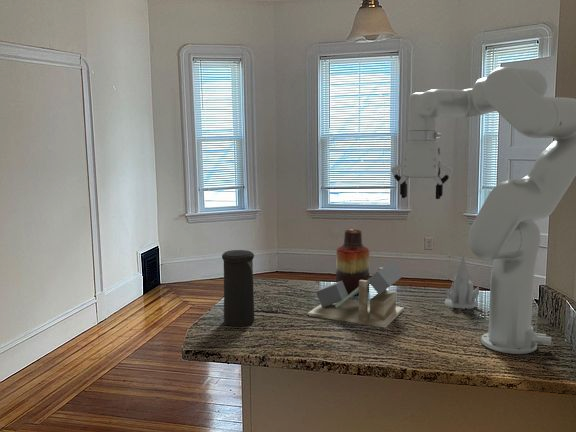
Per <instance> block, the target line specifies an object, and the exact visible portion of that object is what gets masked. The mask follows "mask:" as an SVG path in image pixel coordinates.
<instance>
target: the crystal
mask: <svg viewBox="0 0 576 432" xmlns="http://www.w3.org/2000/svg"><path fill="white" fill-rule="evenodd" d="M479 287H480V286H477V287H476V288H475V289H474V283H473V282H472V281H471V280H470V275H469V271H468V268H467V265H466V259H465V256H462V258H461V261H460V264H459V267H458V270H457V273H456V274H455V276H454V278H453V281H452V282H451V285H450V289H448V288H447V289H446V293H445V295H446V296H447V298H446V299H445V300H444V305H446V306H448V307H450V308H455V309H456V308H457V309H464V310H466V309H465V308H467V309H474V307H475V308H477V306H479V303H478V301H477V300H476V299H477V298H478V296H479V295H480V288H479Z"/></svg>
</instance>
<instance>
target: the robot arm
mask: <svg viewBox="0 0 576 432" xmlns="http://www.w3.org/2000/svg"><path fill="white" fill-rule="evenodd" d="M547 89H548V83H547V79H546V77H545V76H544V74H543V73H542V72H540V71H539V70H536V69H535V68H529V67H521V66H520V67H519V66H518V67H517V66H501V67H498V68H496V69H494V70H492V71H491V72H490V73H489V74H487V76H486V77H481V78H479V79H477V80H476V82H474V85H473V86H472V88H466V89H449V88H448V89H445V88H443V89H442V88H441V89H440V88H435V89H430V90H426V91H424V92H423V91H421V92H414V93H411V94H410V95H409V97H408V127H407V128H408V135H407V136H408V138H407V139H408V142H406V143H405V145H404V149H403V150H404V151H403V157H402V158H403V160H402V162H401V163H399V164H398V165H397V164H396V165H395V166H394V167H392V168H391V169H390V171H391V173H392V175H393V177H394V179H395V180H396V181H397V183H398V184H400V185H399V196H401V198H402V199H405V198H407V197H408V184H407V181H408V180H409V179H413V178H414V179H433V180H434V181H435V182H436V185H435V199H436V200H440V199H441V197H443V189H444V188H443V187H444V184H445V183H446V182H447V181H448V180H449V179H450V177H451V176H452V173H454V168H452V167H450V166H448V165H446V164H444V163H442V160H441V159H442V157H441V147H440V143H439V142H438V141H437V139H440V138H442V133H441V132H437V119H465V118H472V117H476V116H477V117H479V116H482V115H483V116H484V115H486V114H489V113H494V112H497V113H498V114H499V115H500V116H501V117H502V118H503V119H504V120H505V121H506V122H508V124H510V125H511V127H513V129H515V131H517V132H518V133H519V134H521V135H523V136H525V137H528V138H531V139H554V140H553V141H552V142H551V144H549V145H548V146H547V147H546V148H545V149H543V151H542V152H541V153H540V154H539V156H538V157H537V158H536V161H534V164H533V165H532V167H531V168H530V171H529V172H528V173H527V174H526V175H525V176H524V177H522V178H513V179H507V180H503V181H500V183H498V184H497V185H495V187H493V188H492V189H491V190H490V192H489V193H488V195H487V197H486V199H485V200H484V202H483V204H482V206H481V208H480V210H479V211H478V213H477V215H476V217H475V218H474V220H473V222H472V225H471V227H470V229H469V231H468V232H469V233H468V241H467V242H468V247H469V249H470V251H471V253H472V254H473V255H475V257H477V258H479V259H481V260H484V261H486V260H487V261H493V263H492V266H491V272H490V284H489V285H490V287H489V289H490V290H489V306H488V307H489V309H488V329H487V330H488V332H486V333H484V334H483V335H481V338H480V339H481V341H480V342H481V344H482V345H483V346H484V347H485V348H488V349H490V350H491V351H492V350H493V351H496V352H499V353H504V354H511V355H523V354H525V355H526V354H529V353H530V354H531V353H533V352H535V351H537V349H538V344H542V345H544V346H545V345H546V346H552V336H547V334H546V333H539V332H536V331H534V326H532V315H533V314H532V313H533V297H534V296H533V293H534V283H535V269H536V261H537V256H538V253H539V250H540V244H541V231H540V228H539V226H538V225H537V223H536V222H535V221H539V220H542V219H545V218H547V217H549V216H550V215H551V214H553V212H554V210H555V209H556V208H557V207H558V205H559V202H560V201H561V200H562V198H563V197H564V195H565V193H566V192H567V190H568V189H569V187H570V186H571V184H572V182H573V180H574V179H575V177H576V98H572V97H563V96H562V97H559V96H557V97H556V96H555V97H553V96H545V95H546V92H547V91H548V90H547ZM401 169H402V176H401V175H400V174H399V170H401ZM442 170H443V171H445V172H446V173H445V175H443V177H441V175H442V174H441V173H442Z"/></svg>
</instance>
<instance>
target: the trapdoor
mask: <svg viewBox="0 0 576 432" xmlns="http://www.w3.org/2000/svg"><path fill="white" fill-rule="evenodd" d="M378 270H379V269H378ZM403 276H404V273H402V271H401V270H400V269H399V267H397V264H395V263H394V262H393V261H391V262H390V263H388V264H387V265H385V266H384V267H383V268H382V269H381V270H379V271H377V272H375V273H374V274H372V276H371V277H370V276H369V279H368V284H369V285H371V287H373V289H374V290H375V292H376V294H381V293H382V292H383V291H384V290H387V289H389V288H390V287H391V286H392V285H393V284H395V283H397V281H399V280H400V279H402V278H403ZM358 292H359V287H358V288H356V289H355V290H354V291H353V292H351V293H350V294H349V295H348V296H346V297H345V298H344V299H343V300H342V301H340V302H339V303H338V304H337V305H335V306H336V308H337V307H338V306H340V305H341V304H343V303H344V302H346V301H347V300H351V299H352V298H353V297H355V296H354V295H356V294H357V293H358Z"/></svg>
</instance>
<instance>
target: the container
mask: <svg viewBox="0 0 576 432" xmlns="http://www.w3.org/2000/svg"><path fill="white" fill-rule="evenodd" d="M221 257H222V260H223V323H224V325H227V326H231V327H244V326H248V325H252V324H253V323H254V322H255V300H254V299H255V298H254V297H255V296H254V266H253V265H254V264H253V263H254V262H253V260H254V258H255V254H254V253H253V252H252V251H250V250H245V249H232V250H227V251H225V252H223V253H222V255H221Z"/></svg>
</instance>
